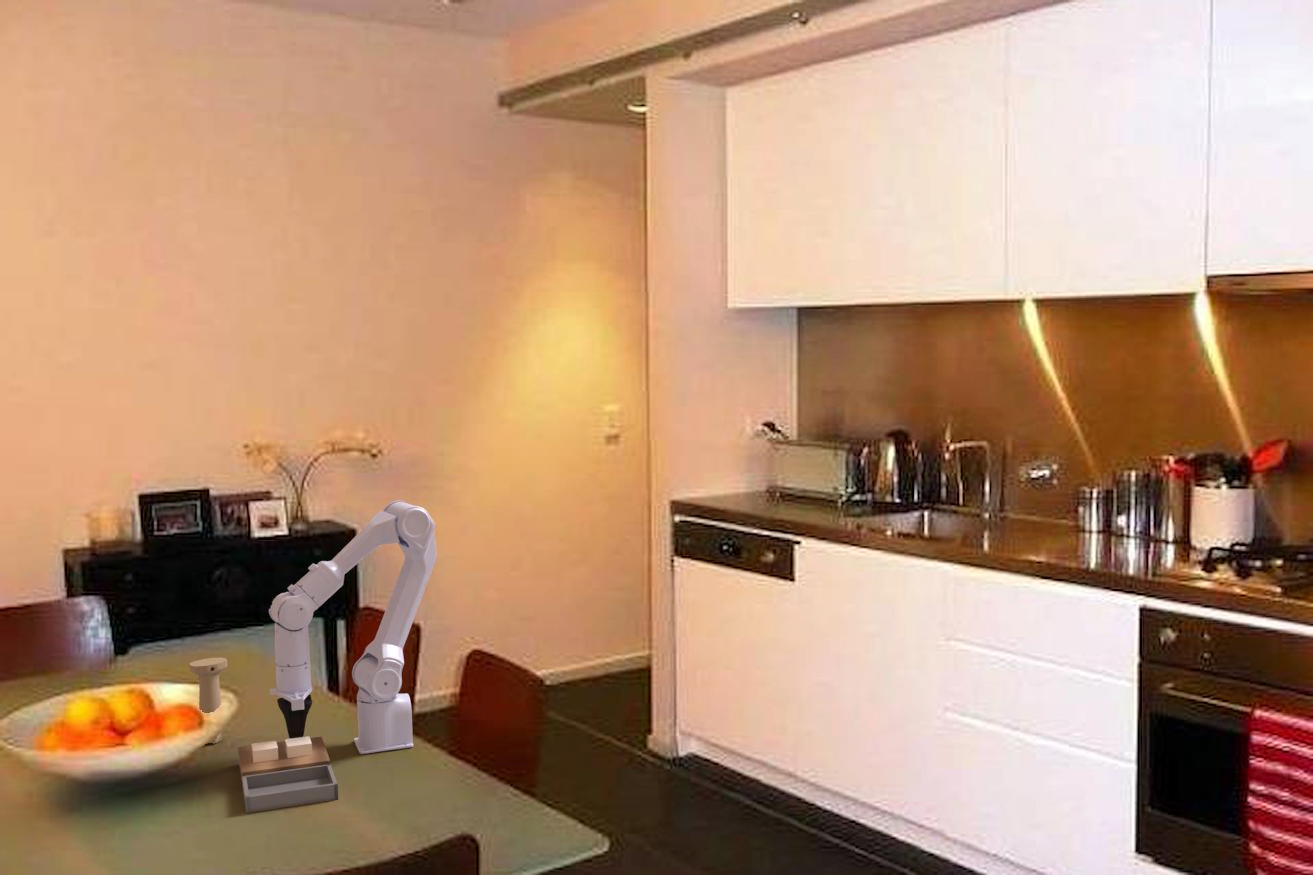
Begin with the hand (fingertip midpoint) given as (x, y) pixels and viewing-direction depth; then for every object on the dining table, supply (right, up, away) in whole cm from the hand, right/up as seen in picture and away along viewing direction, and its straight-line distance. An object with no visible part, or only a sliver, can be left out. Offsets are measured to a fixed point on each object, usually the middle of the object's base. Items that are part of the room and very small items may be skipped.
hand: (296, 738), depth 213 cm
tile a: (+2, -1, -4) cm, 4 cm away
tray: (+3, -5, -15) cm, 16 cm away
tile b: (-4, -2, -6) cm, 7 cm away
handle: (-19, -4, +11) cm, 22 cm away
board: (-1, -4, -4) cm, 6 cm away
